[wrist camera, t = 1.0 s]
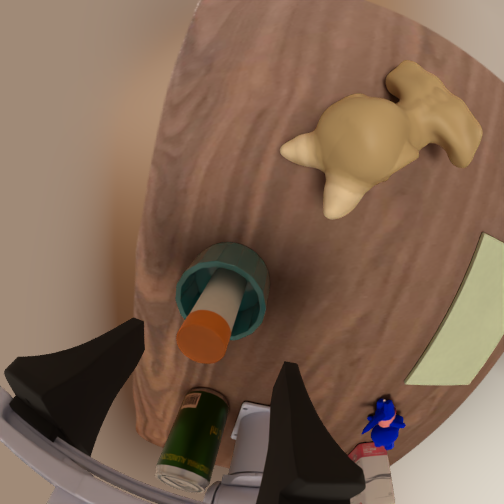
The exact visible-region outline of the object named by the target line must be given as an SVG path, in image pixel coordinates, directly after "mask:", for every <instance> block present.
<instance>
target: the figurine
mask: <svg viewBox="0 0 504 504" xmlns="http://www.w3.org/2000/svg"><path fill="white" fill-rule="evenodd" d="M385 401H386V400H385V399H379V400H378V401H377V410H376V412H375V415H374V416H368V418H367V419H368V420H369V421H370V422H369V423H368V424H367V426H366V427H365V428H364V429H363V432H362V434H364V433H366V432H367V431H369V430H370V429H371V428H373V427H374V426H375V425H376V426H375V427H374V428H373V429H372V432H371V438H372V440H373V442H374V445H375V446H376V447H381V446H384V447H385V449H386V450H390V449H392V448H393V447H394V441H395V440H396V439H397V437H398V433H399V432H398V431H399V428H404V427H405V426H406V425H405V423H403V417H402V416H399V415H396V408H395V406H394V405H393V403H392V400H387V401H386V402H385ZM377 424H379V425H377Z"/></svg>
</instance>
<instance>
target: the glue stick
mask: <svg viewBox="0 0 504 504" xmlns="http://www.w3.org/2000/svg"><path fill="white" fill-rule="evenodd" d="M245 288H246V279H245V278H244V277H242V276H241V275H239V274H238V273H236V272H235V271H233V270H229V269H225V268H219V269H217V270H216V271H215V272H214V274H213V276H212V277H211V279H210V281H209V282H208V284H207V286H206V287H205V289H204V291H203V292H202V294H201V296H200V297H199V299H198V301H197V302H196V304H195V306H194V307H193V309H192V311H191V312H190V314H189V315H188V316H187V317H186V319H185V321H184V322H183V324H182V326H181V327H180V329H179V331H178V333H177V336H176V341H177V345H178V347H179V349H180V350H181V352H182V353H183V354H184V355H185V356H187V357H188V358H190V359H191V360H193V361H196V362H199V363H204V364H211V363H215V362H218V361H219V360H221V359H222V358H223V357H224V355H225V352H226V349H227V346H228V343H229V340H230V337H231V331H232V328H233V325H234V322H235V319H236V316H237V313H238V310H239V307H240V304H241V301H242V298H243V295H244V292H245Z"/></svg>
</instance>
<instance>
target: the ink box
mask: <svg viewBox="0 0 504 504" xmlns="http://www.w3.org/2000/svg"><path fill="white" fill-rule="evenodd" d="M348 457H349V458H350V459H352V460H353V461H354V462H355V463H356V464H357V465H358V466H359V467H361V468H362V469H363V472H364V476H365V483H366V488H365V490H364V491H362V492H361V493H360V494H358V495H356V496H354V497H353V498H351V499H350V504H395V499H394V491H393V485H392V479H391V472H390V466H389V461H388V455H387V450H386V449H385V447H384V446H381V447H376V446H375V445H374V442H372V443H362V444H358V445H357V446H356V447H355V448H354V450H353V451H352V452H351V453H350V454H349V455H348Z"/></svg>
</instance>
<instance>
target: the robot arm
mask: <svg viewBox="0 0 504 504" xmlns="http://www.w3.org/2000/svg"><path fill="white" fill-rule="evenodd" d="M144 350H145V345H144V321H141V320H139V319H136V318H132V319H130V320H128V321H126V322H125V323H123V324H121V325H119V326H118V327H116V328H114V329H112V330H111V331H109V332H107V333H105V334H103V335H101V336H99V337H97V338H95V339H93V340H91V341H89V342H86V343H84V344H82V345H79V346H77V347H73V348H71V349H67V350H63V351H60V352H56V353H52V354H46V355H40V356H28V357H17V358H16V359H15V360H14V362H12V363H11V364H10V365H9V366H8V367H7V369H5V371H4V374H5V377H6V379H7V381H8V383H9V385H10V386H11V388H12V390H13V391H14V393H15V395H16V396H15V397H14V398H12V397H11V395H10V394H9V393H8V392H7V391H5V390H4V389H3V388H2V387H1V386H0V440H1V442H3V443H4V444H5V445H6V446H7V447H8V448H9V449H10V450H11V451H12V452H13V453H14V454H15V455H16V456H17V457H19V458H20V459H21V460H22V461H23V462H24V463H25V464H27V465H28V466H29V467H30V468H32V469H33V470H34V471H35V472H36V473H38V474H39V475H40V476H42V477H43V478H44V479H46V480H47V481H48V482H50V483H51V484H53V485H54V486H55V489H54V491H53V492H52V494H51V496H50V498H49V500H48V501H47V503H46V504H152V503H149V502H146V501H144V500H142V499H139V498H137V497H134V496H132V495H130V494H127V493H125V492H123V491H121V490H119V489H117V488H114V487H112V486H110V485H108V484H106V483H104V482H103V481H101V480H99V479H97V478H95V477H94V476H93V475H92V474H94V475H96V476H97V477H99V478H101V479H103V480H105V481H107V482H109V483H111V484H113V485H115V486H117V487H119V488H121V489H124V490H126V491H128V492H130V493H133V494H135V495H137V496H140V497H142V498H145V499H147V500H150V501H153V502H155V503H158V504H350V499H351V498H353V497H354V496H356V495H358V494H360V493H361V492H362V491H364V490H365V488H366V483H365V476H364V472H363V469H362V468H361V467H359V466H358V465H357V464H356V463H355V462H354V461H353V460H352V459H350V458H349V457H348V456H347V454H346V453H345V452H344V451H343V450H342V449H341V448H340V447H339V445H338V444H337V443H336V442H335V440H334V439H333V438H332V437H331V435H330V434H329V432H328V431H327V429H326V428H325V426H324V425H323V423H322V421H321V420H320V418H319V416H318V414H317V412H316V410H315V408H314V406H313V404H312V402H311V400H310V398H309V395H308V393H307V391H306V388H305V385H304V383H303V380H302V377H301V374H300V371H299V367H298V365H297V364H296V363H291V362H286V361H284V364H283V366H282V369H281V371H280V373H279V376H278V378H277V380H276V382H275V385H274V387H273V393H272V398H271V405H270V407H269V406H264V405H259V404H254V403H249V402H244V403H243V404H242V407H241V409H240V412H239V415H238V418H237V421H236V424H235V426H234V429H233V432H232V435H231V438H232V439H235V440H236V443H235V447H234V452H233V456H232V461H231V465H230V469H229V474H228V475H223V477H222V481H216V482H215V483H213V484H212V485H211V486H210V487H209V488H208V490H207V492H206V494H205V496H204V500H203V502H201V501H197V500H193V499H190V498H187V497H183V496H180V495H177V494H174V493H170V492H167V491H164V490H162V489H159V488H156V487H153V486H151V485H148V484H146V483H143V482H141V481H138V480H136V479H134V478H131V477H129V476H127V475H124V474H122V473H120V472H118V471H116V470H114V469H112V468H110V467H108V466H106V465H104V464H102V463H100V462H98V461H97V460H95V459H93V458H91V453H92V450H93V447H94V444H95V441H96V438H97V435H98V433H99V431H100V428H101V426H102V423H103V421H104V419H105V417H106V415H107V412H108V410H109V408H110V406H111V404H112V402H113V400H114V399H115V397H116V395H117V394H118V392H119V391H120V389H121V388H122V386H123V385H124V383H125V382H126V381H127V379H128V378H129V376H130V375H131V373H132V372H133V370H134V369H135V367H136V366H137V364H138V362H139V360H140V358H141V356H142V354H143V352H144ZM86 470H87V471H86ZM89 472H90V473H89ZM91 473H92V474H91Z"/></svg>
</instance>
